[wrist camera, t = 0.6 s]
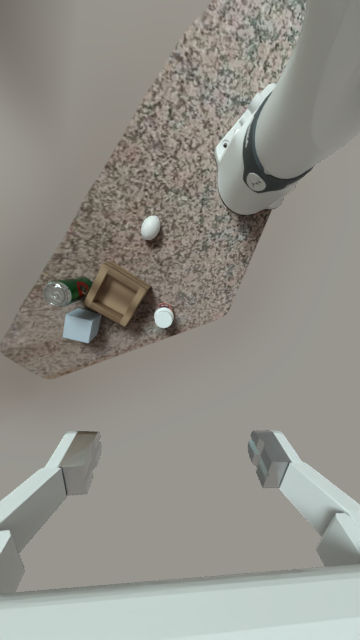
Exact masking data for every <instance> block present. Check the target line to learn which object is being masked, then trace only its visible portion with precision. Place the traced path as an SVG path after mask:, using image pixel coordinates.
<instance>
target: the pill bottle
mask: <svg viewBox="0 0 360 640" xmlns="http://www.w3.org/2000/svg"><path fill="white" fill-rule="evenodd" d="M154 319H155V322H156V324H157V325H158V326H159V327H161V328H167V327H169V326H170V325H171V323H172V321H173V319H174V315H173V308H172V306H171V305H170V304H169V303H165V302H164V303H160V304H159V305H158V306H157V308H156V311H155V314H154Z"/></svg>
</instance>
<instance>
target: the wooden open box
mask: <svg viewBox="0 0 360 640" xmlns="http://www.w3.org/2000/svg"><path fill="white" fill-rule="evenodd" d="M150 287H151V286H150V285H149V284H147V283H146V282H144V281H142V280H141V279H139V278H138V277H136V276H134V275H133V274H131V273H130V272H128V271H126V270H125V269H123V268H122V267H120V266H118V265H117V264H115V263H114V262H109V261H107V262H106V263H103V264H102V266H101V268H100V270H99V272H98V274H97V276H96V278H95V280H94V282H93V284H92V286H91V288H90V290H89V292H88V294H87V296H86V298H85V300H84V302H83V304H84V305H85V306H87V307H89V308H91V309H93V310H95V311H97V312H98V313H100V314H102V315H104V316H106V317H108V318H110V319H111V320H113V321H115V322H117V323H119V324H121V325H122V326H124V327H125V326H126V324H127V325H128V323H129V322H130V320H131V319H132V317H133V315H134V314H135V312H136V310H137V309H138V307H139V305H140V303H141V302H142V300H143V298H144V297H145V295H146V293H147V292H148V290H149V288H150Z"/></svg>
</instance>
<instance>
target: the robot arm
mask: <svg viewBox="0 0 360 640" xmlns="http://www.w3.org/2000/svg"><path fill="white" fill-rule="evenodd" d="M359 132H360V0H307V4H306V10H305V15H304V20H303V24H302V28H301V32H300V35H299V39H298V42H297V44H296V47H295V49H294V51H293V53H292V55H291V57H290V59H289V61H288V63H287V65H286V68H285V69H284V71H283V73H282V75H281V77H280V79H279V81H278V82H277V84H269V85H268V86H267V87H266V88H265V89H264V90H263V91H262V92H261V94H260V92H258V93H257V94H256V95H255V97H254V98H253V100H252V101H251V103H250V105H249V106H248V109H247V110H246V112H245V113H244V114H243V115H242V116H241V118H240V119H239V120H238V121H237V122H236V124H235V125H234V126H233V127H232V128H231V130H230V131H229V132H228V133H227V134H226V136H225V137H224V138H223V139H222V140H221V142H220V143H219V144H218V145H217V147H216V149H215V159H216V162H217V166H218V189H219V193H220V196H221V198H222V200H223V202H224V203H225V205H226V206H227V207H228V208H229V209H230V210H232V211H233V212H235V213H238V214H241V215H250V214H254V213H257V212H259V211H261V210H264V209H275V208H277V207H279V206H280V205H281V203H282V201H283V199H284V197H285V196H286V195H287V194H289V193H290V192H291V191H292V190H294V188H295V187H296V186H295V185H296V183H297V181H298V180H300V179H301V178H302V177H304V176H305V175H306V174H307V173H308V172H309V171H310V170H311V169H312V168H313V167H314V166H315V165H316V164H318V163H319V162H321V161H322V160H324V159H325V158H327V157H328V156H329V155H331V154H333V153H334V152H336V151H337V150H339V149H340V148H342V147H343V146H345V145H346V144H347V143H349V142H350V141H351V140H352V139H353V138H354V137H355V136H356V135H357V134H358V133H359ZM223 145H226V148H224V147H223ZM100 437H101V436H100V432H88V431H87V432H86V431H68V432H67V433H66V434H65V435H64V437H63V438H62V440H61V442H60V443H59V445H58V447H57V448H56V450H55V452H54V453H53V455H52V456H51V458H50V460H49V462H48V463H47V465H46V466H45V468H41V469H39V470H38V471H37V472H36V473H34V474H33V475H32V476H31V477H30V478H28V479H27V480H26V481H25V482H24V483H22V484H21V485H20V486H18V487H17V488H16V489H15V490H14V491H13V492H11V493H10V494H9V495H7V496H6V497H5V498H4V499H3V500H1V501H0V640H360V505H359V504H358V503H357V502H355V501H354V500H353V499H352V498H350V497H349V496H348V495H346V494H345V493H344V492H343V491H341V490H340V489H339V488H337V487H336V486H335V485H334V484H332V483H331V482H330V481H328V480H327V479H326V478H325V477H323V476H322V475H321V474H319V473H318V472H317V471H316V470H314V469H313V468H311V467H310V466H309V465H308V464H307V463H305V462H302V461H301V460H300V458H299V457H298V455H297V454H296V452H295V451H294V449H293V448H292V446H291V445H290V444H289V442H288V441H287V439H286V438H285V436H284V435H283V434H282V432H281V431H269V430H266V431H252V433H251V438H252V439H251V440H250V441H249V443H248V453H249V456H250V459H251V462H252V463H253V464H254V465H255V466H256V467H257V469H256V473H257V476H258V478H259V480H260V483H261V485H262V487H263V488H280V490H281V492H282V493H283V494H284V495H285V496H286V497H287V498H288V499H289V501H290V502H291V503H292V504H293V505H294V506H295V507H296V508H297V510H298V511H299V512H300V513H301V514H302V515H303V516H304V517H305V519H306V520H307V521H308V522H309V523H310V524H311V525H312V526H313V528H315V530H316V531H317V532H318V533H319V534H320V535H321V537H322V538H321V540H320V541H319V543H318V545H317V552H318V554H319V556H320V558H321V560H322V562H323V564H324V566H325V567H316V568H305V569H292V570H280V571H269V572H256V573H243V574H231V575H220V576H207V577H196V578H183V579H171V580H158V581H146V582H135V583H122V584H110V585H98V586H87V587H73V588H61V589H49V590H38V591H25V592H16V590H17V587H18V585H19V583H20V581H21V578H22V576H23V574H24V565H23V563H22V560H21V558H20V555H19V553H20V552H21V551H22V549H23V548H24V547H25V546H26V545H27V543H28V542H29V541H30V540H31V539H32V538H33V536H34V535H35V534H36V533H37V532H38V530H39V529H40V528H41V527H42V526H43V524H44V523H45V522H46V521H47V520H48V519H49V517H50V516H51V515H52V514H53V513H54V512H55V510H56V509H57V508H58V507H59V506H60V504H61V503H62V502H63V501H64V500H65V499H66V497H67V495H83V494H87V493H88V490H89V487H90V484H91V481H92V479H93V469H94V468H95V467H96V466H97V464H98V461H99V458H100V454H101V442H99V439H100Z"/></svg>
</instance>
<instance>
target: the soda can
mask: <svg viewBox="0 0 360 640" xmlns="http://www.w3.org/2000/svg"><path fill="white" fill-rule="evenodd" d="M92 284H93V283H92V282H91V281H90V280H89V279H88V278H86V277H76V278H70V279H63V280H57V281H52V282H49V283H48V284H47V285H46V286H45V287H44V290H43V295H44V298H45V300H46V301H47V302H48V303H50V304H52V305H54V306H60V307H62V306H66V305H69V304H71V303H74V302H76V301H78V300H81V299H83V298H86V296H87V294H88V292H89V290H90V288H91V286H92Z"/></svg>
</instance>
